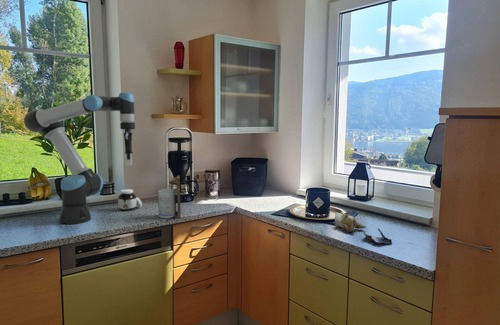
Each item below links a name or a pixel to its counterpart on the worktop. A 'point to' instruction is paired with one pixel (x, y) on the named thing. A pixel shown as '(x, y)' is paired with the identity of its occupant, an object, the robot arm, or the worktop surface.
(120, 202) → the spread jar
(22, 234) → the worktop surface
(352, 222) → the ceramic sculpture
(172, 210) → the supplement tub
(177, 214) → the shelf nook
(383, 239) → the twin peaked rock
